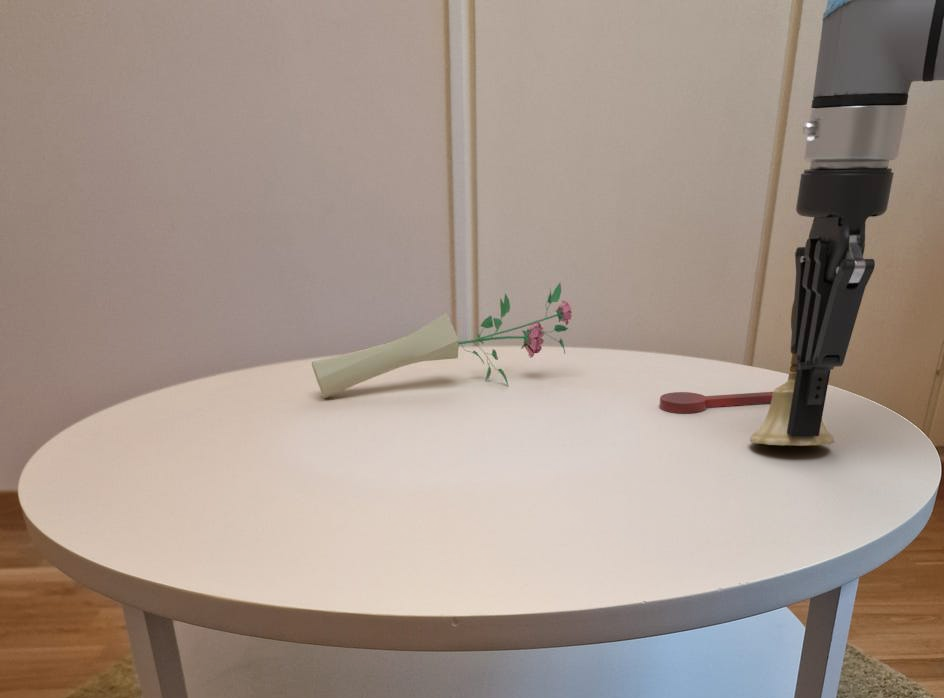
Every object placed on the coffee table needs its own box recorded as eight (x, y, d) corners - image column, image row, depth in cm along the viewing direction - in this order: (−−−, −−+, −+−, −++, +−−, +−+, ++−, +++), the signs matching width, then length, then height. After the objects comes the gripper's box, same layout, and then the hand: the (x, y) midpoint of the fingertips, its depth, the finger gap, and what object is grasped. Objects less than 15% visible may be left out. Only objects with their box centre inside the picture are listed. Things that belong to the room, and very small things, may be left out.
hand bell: (765, 437, 97) (779, 281, 92) (843, 440, 92) (862, 276, 87) (737, 444, 91) (750, 277, 86) (820, 448, 86) (839, 272, 81)
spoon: (799, 393, 112) (801, 384, 111) (821, 404, 107) (823, 394, 107) (653, 403, 110) (654, 393, 109) (668, 414, 105) (669, 404, 105)
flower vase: (338, 444, 124) (566, 366, 128) (343, 442, 112) (594, 356, 116) (308, 361, 121) (542, 283, 125) (310, 350, 109) (568, 265, 113)
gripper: (780, 165, 82) (746, 418, 93) (832, 167, 71) (786, 454, 82) (861, 163, 82) (817, 416, 93) (926, 165, 71) (866, 452, 82)
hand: (802, 434), depth 88 cm, fingers closed
